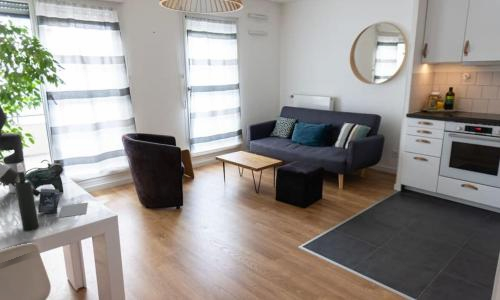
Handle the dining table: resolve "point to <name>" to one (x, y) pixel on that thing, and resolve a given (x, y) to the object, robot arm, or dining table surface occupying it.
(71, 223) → the dining table surface
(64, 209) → the mat
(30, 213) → the wine bottle
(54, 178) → the ceramic cat
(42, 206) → the box
